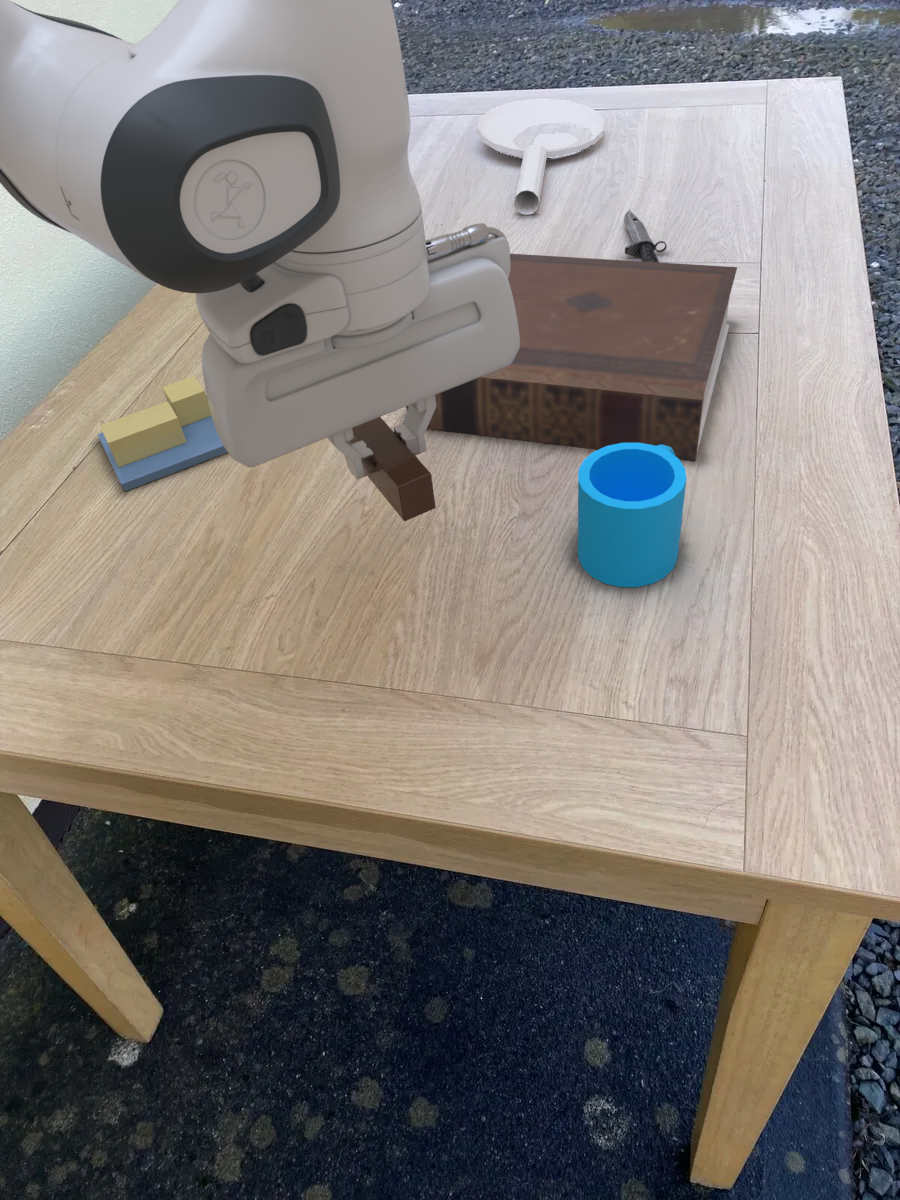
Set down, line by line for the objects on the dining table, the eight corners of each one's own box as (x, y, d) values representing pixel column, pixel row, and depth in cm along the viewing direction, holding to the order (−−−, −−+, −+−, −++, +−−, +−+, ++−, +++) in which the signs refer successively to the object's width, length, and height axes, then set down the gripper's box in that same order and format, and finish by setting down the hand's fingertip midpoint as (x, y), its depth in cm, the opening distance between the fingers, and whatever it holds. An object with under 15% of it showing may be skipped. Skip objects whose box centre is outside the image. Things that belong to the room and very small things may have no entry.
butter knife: (404, 522, 60) (398, 487, 58) (291, 382, 72) (282, 349, 70) (436, 508, 60) (431, 473, 58) (318, 372, 73) (311, 339, 71)
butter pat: (180, 427, 93) (171, 402, 91) (171, 411, 95) (161, 387, 93) (213, 415, 94) (204, 390, 92) (202, 400, 96) (194, 375, 94)
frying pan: (596, 226, 122) (599, 192, 119) (456, 221, 124) (455, 188, 121) (604, 119, 145) (606, 87, 141) (485, 116, 147) (485, 86, 143)
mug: (651, 600, 71) (658, 521, 65) (559, 567, 75) (558, 489, 69) (711, 511, 78) (723, 432, 72) (624, 484, 81) (628, 407, 76)
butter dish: (124, 492, 88) (109, 459, 85) (100, 441, 94) (86, 409, 91) (259, 441, 92) (249, 407, 89) (227, 396, 98) (217, 363, 95)
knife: (609, 204, 117) (648, 200, 117) (609, 220, 119) (647, 215, 118) (637, 273, 104) (681, 267, 104) (637, 289, 106) (680, 284, 106)
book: (695, 461, 83) (702, 399, 78) (409, 426, 91) (400, 368, 86) (729, 325, 98) (737, 267, 94) (482, 305, 106) (478, 251, 102)
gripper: (479, 197, 57) (494, 388, 67) (166, 302, 51) (233, 493, 61) (534, 231, 53) (541, 428, 63) (201, 349, 47) (266, 545, 57)
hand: (387, 461), depth 62 cm, fingers closed on butter knife, 2 cm apart
